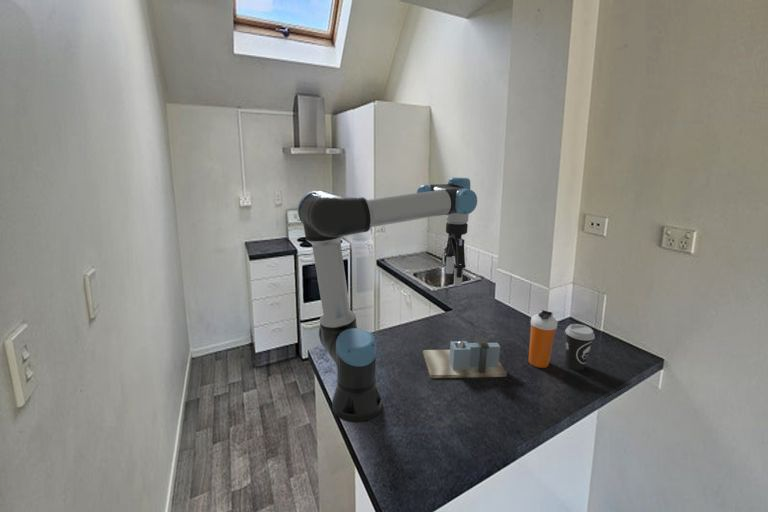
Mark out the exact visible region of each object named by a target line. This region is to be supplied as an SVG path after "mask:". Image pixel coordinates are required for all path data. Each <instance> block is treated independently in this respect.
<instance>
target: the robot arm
mask: <svg viewBox="0 0 768 512" xmlns="http://www.w3.org/2000/svg"><path fill="white" fill-rule="evenodd" d="M477 206H478V197H477V194H476V192H475V191H474V190H472V189H471V180H470V179H469V178H468V177H459V176H458V177H449V178H448V182H447V183H446V184H441V183H440V184H437V183H436V184H434V183H433V184H430V183H428V184H422V185H420V186H418V188H417V191H416V193H408V194H400V195H394V196H393V195H391V196H385V197H378V198H377V197H376V198H370V199H367V198H365V197H364V196H357V197H351V196H350V197H348V196H342V195H337V194H333V193H331V192H329V191H326V190H313V191H312V190H311V191H309V192H308V193H306V194H305V195H304V196H303V197H302V198H301V199H300V201H299V202H298V205H297V215H298V218H299V220H300V222H301V223H302V225H303V231H304V236H305V240H306V241H307V242H308V243H310V244H311V247H312V248H311V249H312V253H313V257H314V258H313V259H314V264H315V266H314V267H315V271H316V277H317V284H318V289H319V295H320V303H321V309H322V313H323V314H322V315H321V317H320V318H319V327H318V337H319V340H320V344H321V346H323V348H324V349H325V350H326V351H327V353H328V354H329V356H330V358H332V360H333V362H334V363H335V366H336V371H337V372H336V374H337V375H336V377H337V379H336V380H337V385H336V388H335V390H334V394H333V397H332V402H331V403H332V405H331V406H332V411H333V413H334V415H335V416H336V417H337V418H339V419H340V420H342V421H345V422H349V423H363V422H366V421H370V420H372V419H373V418H375V417H376V416H377V415H378V414H379V413H380V412H381V410H382V404H383V403H382V395H381V393H380V390H379V387H378V384H377V352H378V350H377V349H378V348H377V343H376V338H375V337H374V335H373V334H372V333H370V332H369V331H368V330H366V329H365V330H363V329H362V328H358V326H357V325H358V324H357V318H356V313H355V312H354V310H351V308H350V301H349V300H350V299H349V293H348V286H347V285H348V284H347V280H346V279H347V278H346V272H345V271H346V270H345V265H344V257H343V250H342V242H341V240H342V239H343V238H344V237H346V236H351V235H357V234H362V233H367V232H369V231H370V230H371V228H374V227H381V226H386V225H393V224H397V223H404V222H411V221H417V220H421V219H427V218H433V217H441V216H444V215H445V216H446V221H447V222H446V224H445V232H446V234H448V235H447V242H446V248H445V254H446V261H445V262H446V263H445V265H446V266H445V274H451V275H452V274H454V275H453V286H454V287H457V286H458V287H459V286H460V287H462V286H463V273H464V269H466V257H465V256H466V255H465V238H464V239H463V238H462V236H463V235H466V234H467V233H468V229H469V228H468V227H469V225H468V223H467V222H469V216H470V215H469V214H471V213H473V212H474V211H475V210H476V207H477Z"/></svg>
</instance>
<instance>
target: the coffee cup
mask: <svg viewBox="0 0 768 512" xmlns="http://www.w3.org/2000/svg"><path fill="white" fill-rule="evenodd" d="M564 332H565V334H566V336H565V355H564V366H565V367H567V368H568V369H569V370H570V369H571V370H573V371H583V370H584V369H585V367H586V364H587V361H588V357H589V353H590V351H591V350H590V349H591V347H592V343H593V340H595V338H596V337H595V332H594V330H593V329H592V328H591V327H589V326H587V325H584V324H580V323H571V324H569V325H568V326H567V327H566V329H565V330H564Z"/></svg>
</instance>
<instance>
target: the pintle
mask: <svg viewBox="0 0 768 512" xmlns="http://www.w3.org/2000/svg"><path fill="white" fill-rule="evenodd" d="M463 341H464V340H458V346H457V348H463V343H464V342H463Z"/></svg>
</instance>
